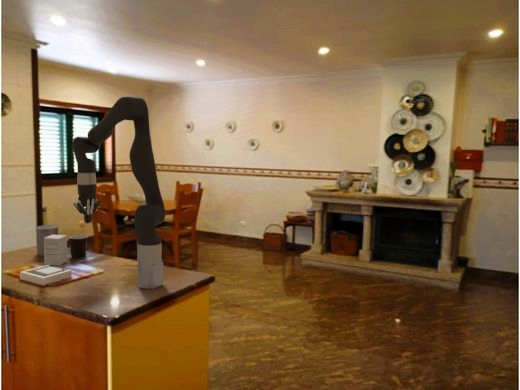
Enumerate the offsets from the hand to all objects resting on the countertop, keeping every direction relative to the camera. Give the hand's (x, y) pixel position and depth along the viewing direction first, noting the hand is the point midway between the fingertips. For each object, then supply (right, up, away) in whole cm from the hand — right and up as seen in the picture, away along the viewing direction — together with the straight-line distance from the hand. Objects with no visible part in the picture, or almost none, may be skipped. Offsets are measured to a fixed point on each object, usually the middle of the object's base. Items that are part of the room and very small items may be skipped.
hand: (88, 222), depth 179 cm
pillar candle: (-32, -17, +28) cm, 46 cm away
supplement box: (-20, -20, +12) cm, 30 cm away
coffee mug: (-14, -18, +25) cm, 34 cm away
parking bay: (-13, -22, -10) cm, 28 cm away
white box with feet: (-13, -22, -9) cm, 27 cm away
